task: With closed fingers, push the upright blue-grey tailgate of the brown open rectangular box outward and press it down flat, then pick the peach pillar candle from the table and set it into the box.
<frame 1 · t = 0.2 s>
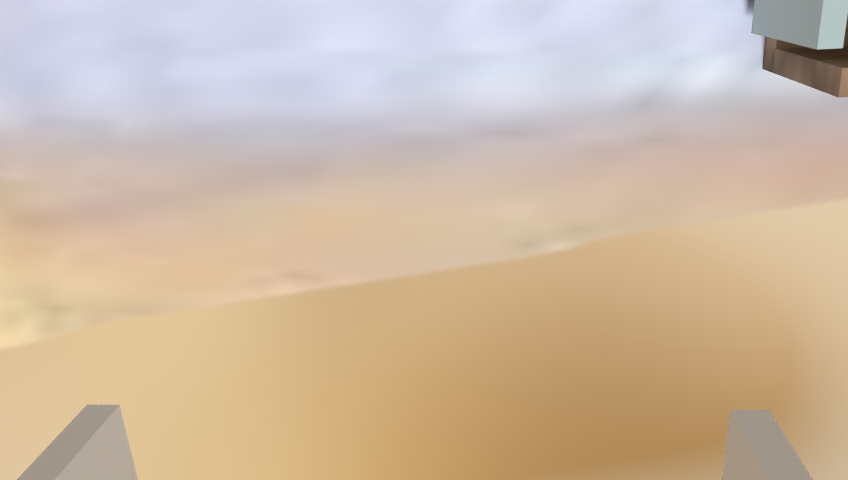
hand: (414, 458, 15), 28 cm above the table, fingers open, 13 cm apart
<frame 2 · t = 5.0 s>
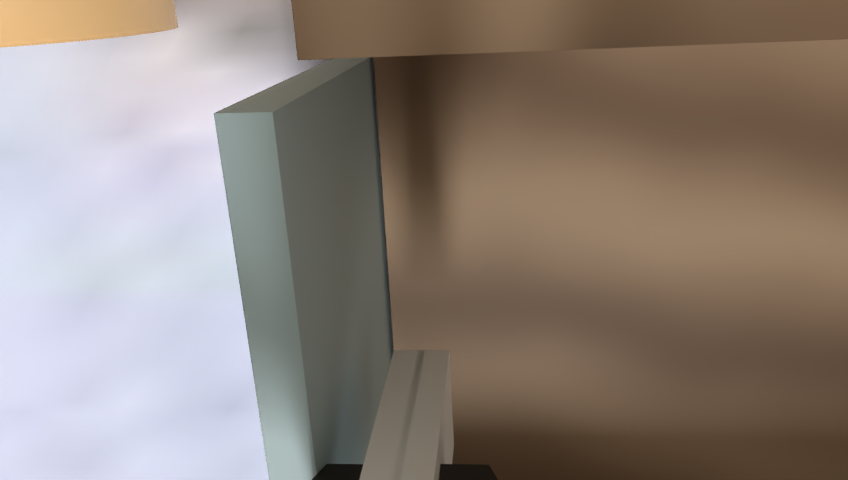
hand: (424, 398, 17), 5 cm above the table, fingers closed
tailgate: (341, 396, 18), point 5 cm above the table, hinge at 2.9°, touching gripper
brown open rectangular box: (755, 307, 22), on the table
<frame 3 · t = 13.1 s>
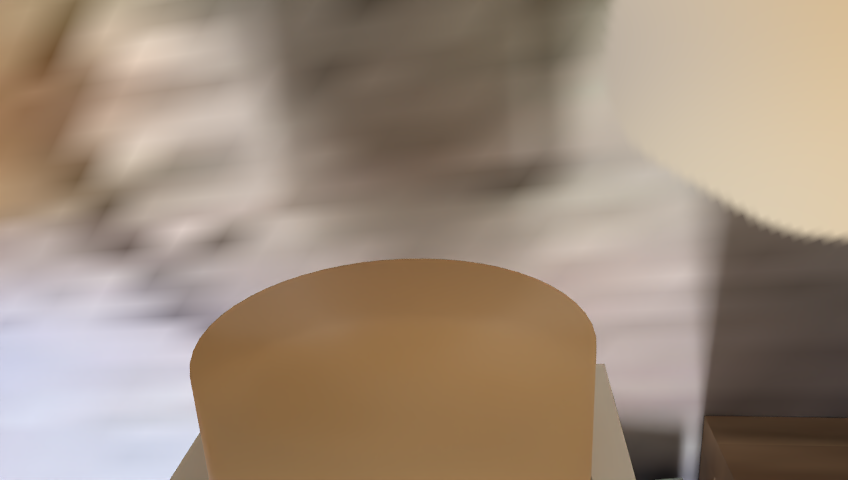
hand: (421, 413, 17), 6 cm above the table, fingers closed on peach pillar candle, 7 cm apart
peach pillar candle: (431, 411, 17), point 6 cm above the table, touching gripper
when the fingers open (3 cm above the table, at t = 16.8 s): peach pillar candle stays where it is, resting on brown open rectangular box.
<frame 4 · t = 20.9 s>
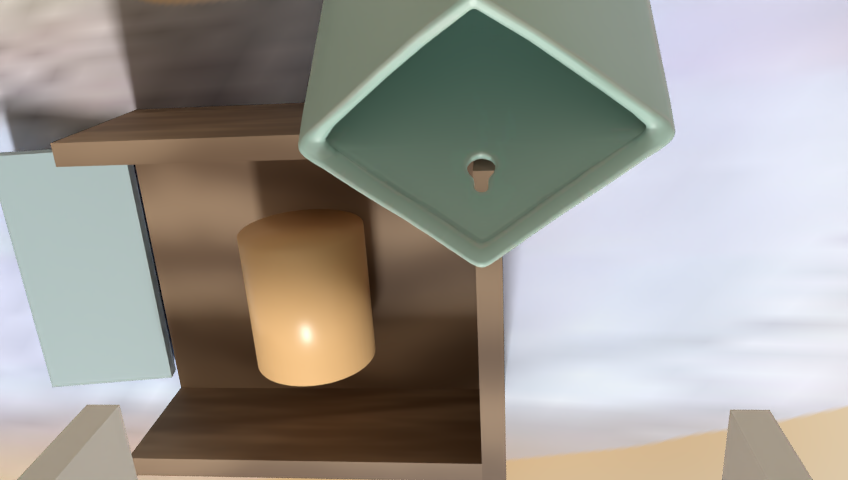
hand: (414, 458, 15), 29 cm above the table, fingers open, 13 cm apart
peach pillar candle: (327, 269, 44), point 2 cm above the table, touching brown open rectangular box
tailgate: (89, 270, 46), point 2 cm above the table, hinge at 80.9°
brown open rectangular box: (330, 258, 45), on the table
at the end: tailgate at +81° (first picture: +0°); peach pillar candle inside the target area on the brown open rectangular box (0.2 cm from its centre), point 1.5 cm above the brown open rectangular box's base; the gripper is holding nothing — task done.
